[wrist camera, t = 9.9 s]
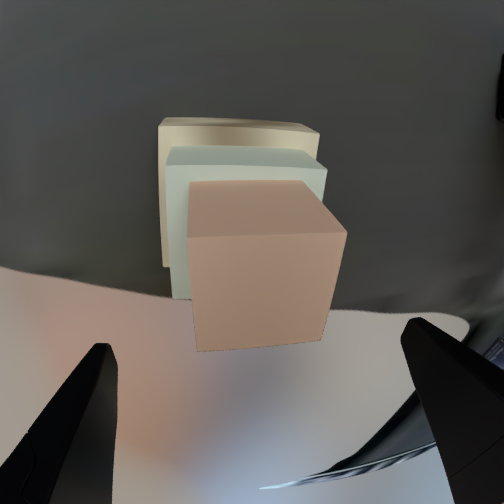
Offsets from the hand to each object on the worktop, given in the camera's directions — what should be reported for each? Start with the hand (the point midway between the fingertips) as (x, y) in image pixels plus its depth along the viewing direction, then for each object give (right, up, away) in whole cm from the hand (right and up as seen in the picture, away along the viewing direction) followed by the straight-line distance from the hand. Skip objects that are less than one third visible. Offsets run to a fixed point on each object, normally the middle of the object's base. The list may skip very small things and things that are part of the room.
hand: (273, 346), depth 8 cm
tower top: (-1, +5, +8) cm, 10 cm away
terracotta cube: (-1, +4, +5) cm, 6 cm away
